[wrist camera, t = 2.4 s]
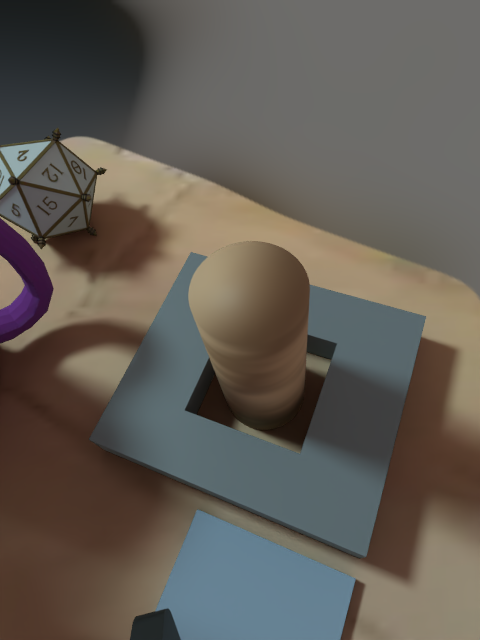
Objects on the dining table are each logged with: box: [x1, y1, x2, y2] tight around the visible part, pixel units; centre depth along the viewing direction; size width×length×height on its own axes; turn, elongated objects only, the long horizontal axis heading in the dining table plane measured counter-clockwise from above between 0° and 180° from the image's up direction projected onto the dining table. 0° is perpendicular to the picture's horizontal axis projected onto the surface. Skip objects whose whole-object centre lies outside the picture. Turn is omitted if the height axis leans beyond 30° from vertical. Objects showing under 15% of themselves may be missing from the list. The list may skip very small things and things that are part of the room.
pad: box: [156, 509, 355, 640], centre depth 23 cm, size 9×9×1 cm
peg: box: [188, 241, 310, 430], centre depth 24 cm, size 5×5×12 cm
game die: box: [0, 128, 107, 249], centre depth 35 cm, size 9×8×10 cm
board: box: [89, 252, 426, 558], centre depth 28 cm, size 16×14×2 cm
